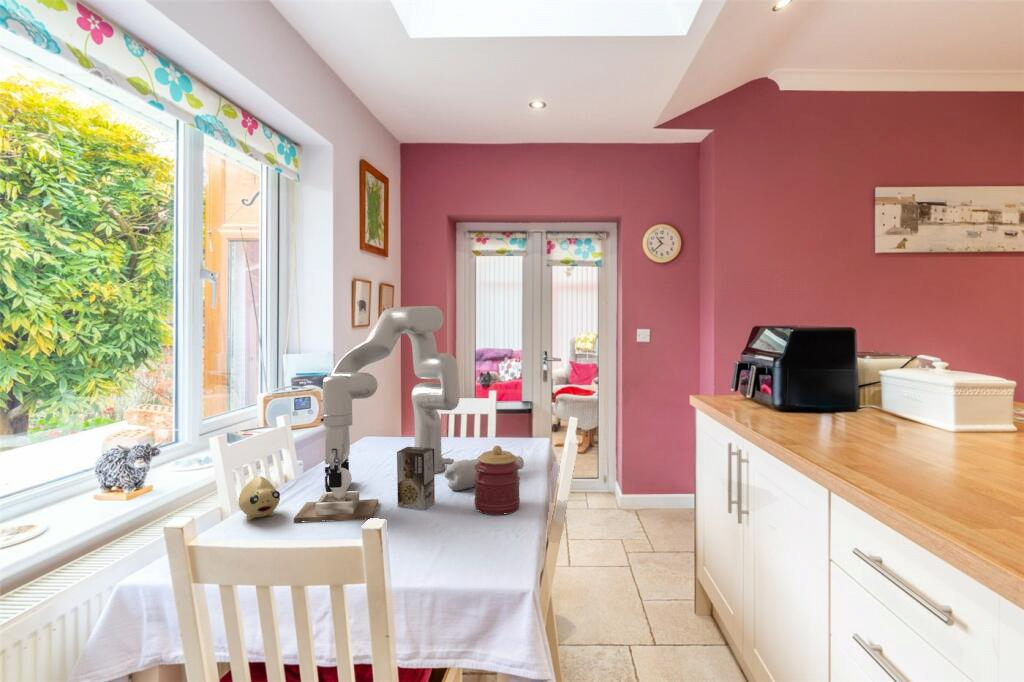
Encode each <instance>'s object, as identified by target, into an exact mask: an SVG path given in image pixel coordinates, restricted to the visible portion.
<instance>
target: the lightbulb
mask: <svg viewBox="0 0 1024 682" xmlns="http://www.w3.org/2000/svg"><path fill="white" fill-rule="evenodd" d="M340 472H341V474H342V486H341V487H338V488H331V490H332V491H333V495H334V497H335V502H345V495H346V491H347V490H348V488H349V486H351V484H352V478H353V477H352V473H351V472H350V470H349V471H348V470H347V469H345V468H341V469H340ZM327 482H328V485H329V475H328V479H327Z"/></svg>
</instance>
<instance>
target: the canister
mask: <svg viewBox="0 0 1024 682" xmlns="http://www.w3.org/2000/svg"><path fill="white" fill-rule="evenodd" d="M476 459H477V460H478V461H479V462H478V463H477V464H476V465H475V466H474V468H475V470H476V476H475V478H474V480H475V486H474V502H473V503H474V505H475V507H476V508H475V507H474V508H475V509H477V510H476V511H478V510H479V511H481V512H483V513H482V514H485V513H487V514H486V515H490V514H503V515H505V514H504V513H509V514H511V512H512V513H514V512H516V511H517V510H519V508H520V503H521V497H520V480H521V477H520V475H519V470H520V469H519V468H520V465H519V464H518V463H516V460H517V456H516V455H514V454H513V453H512V452H510V451H508V450H503V449H502V447H501V446H500V445H495V446H493V447H492V450H488V451H485V452H483V453H482V454H480V455H479V456H477V458H476ZM479 511H478V512H479ZM481 512H480V513H481Z"/></svg>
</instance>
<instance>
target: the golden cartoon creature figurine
mask: <svg viewBox="0 0 1024 682" xmlns="http://www.w3.org/2000/svg"><path fill="white" fill-rule="evenodd" d="M280 499H281V493H280V492H279V491H278V490H277V489H276V488H275V486H274V485H273V484H272V483H271V482H270V481H269V480H268V479H267V478H265V477H264V476H256V477H254V478H253V479H251V480H250V481H248V483H246V485H245V486H244V488H242V490H241V491H240V494H239V497H238V507H239V508H240V510H241V511H242V513H243V514H244V515H246V519H247V520H248V521H251V520H253V519H254V518H262V517H266V516H268V517H273V516H274V514H275V510H276V508H277V507H278V506H279V503H280Z"/></svg>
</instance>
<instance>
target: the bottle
mask: <svg viewBox="0 0 1024 682" xmlns="http://www.w3.org/2000/svg"><path fill="white" fill-rule="evenodd" d="M516 457H517V460H516V463H518V464H519V465H520V468H519V470H522V469H523V468H524V466H525V461H524V459H523V457H522V456H520V455H517V456H516ZM478 462H479V461H478V460H477V458H473V459H461V460H456V461H455V460H454V462H453V463H452V464H451V465H449V464H448V466H446V469H445V470H444V478H445V479H446V480H448V481H449V482H448V483H447V487H448V488H449V489H450V490H452V491H455V492H459V491H462V490H467V488H468V489H470V488H473V487H475V480H474V478H475V476H476V470H475V468H474V466H475V465H476V464H477V463H478Z"/></svg>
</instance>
